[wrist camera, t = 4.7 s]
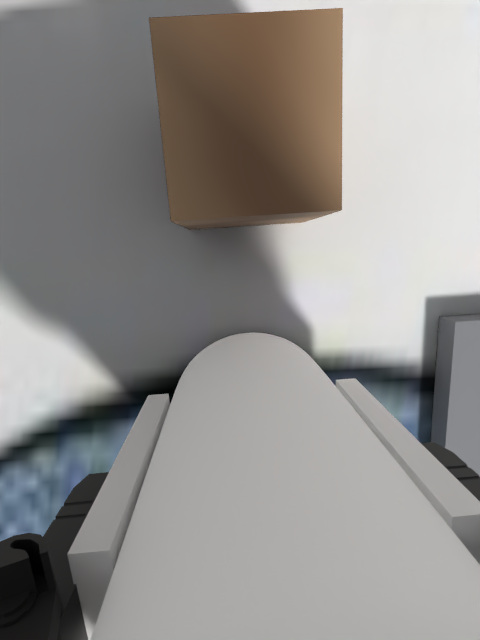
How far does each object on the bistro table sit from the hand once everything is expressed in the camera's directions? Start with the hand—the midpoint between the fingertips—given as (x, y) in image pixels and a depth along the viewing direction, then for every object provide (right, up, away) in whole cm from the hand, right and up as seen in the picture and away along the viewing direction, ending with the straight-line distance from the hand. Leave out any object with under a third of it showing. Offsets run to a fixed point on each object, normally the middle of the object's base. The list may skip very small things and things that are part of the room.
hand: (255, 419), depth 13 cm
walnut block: (0, +10, 0) cm, 10 cm away
